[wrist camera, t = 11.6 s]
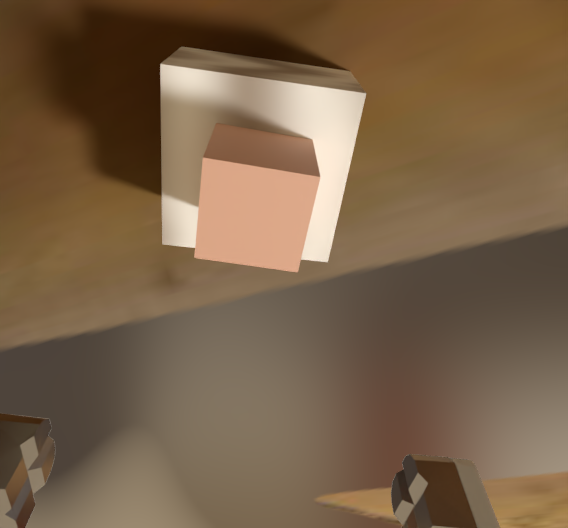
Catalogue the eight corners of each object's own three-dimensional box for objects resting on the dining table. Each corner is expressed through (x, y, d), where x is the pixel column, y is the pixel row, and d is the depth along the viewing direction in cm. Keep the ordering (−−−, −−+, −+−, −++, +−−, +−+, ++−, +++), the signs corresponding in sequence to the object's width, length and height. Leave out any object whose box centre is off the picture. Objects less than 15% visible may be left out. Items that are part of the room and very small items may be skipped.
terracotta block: (312, 139, 23) (320, 177, 19) (294, 223, 26) (297, 272, 22) (216, 122, 23) (202, 157, 19) (207, 210, 25) (194, 257, 21)
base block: (349, 70, 27) (366, 93, 22) (319, 216, 33) (327, 262, 28) (182, 46, 26) (160, 64, 21) (180, 200, 32) (162, 244, 27)
